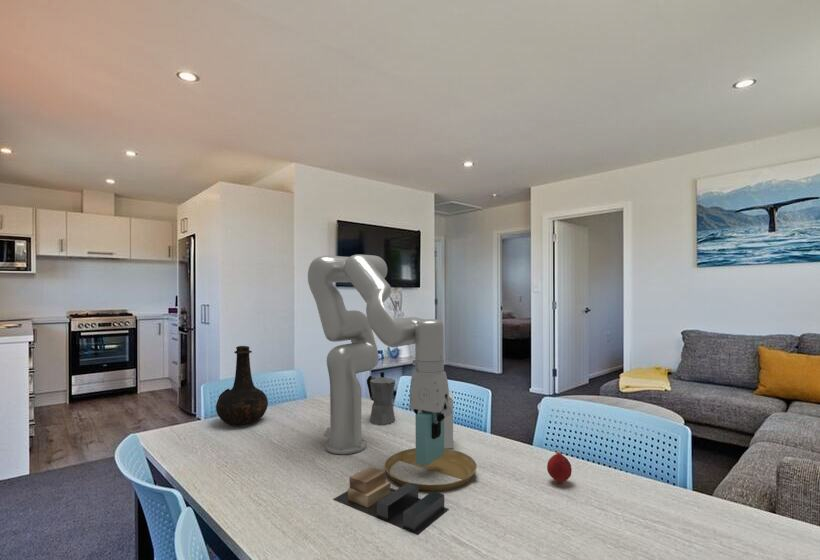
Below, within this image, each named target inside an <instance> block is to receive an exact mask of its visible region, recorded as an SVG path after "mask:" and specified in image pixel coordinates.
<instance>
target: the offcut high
mask: <svg viewBox="0 0 820 560" xmlns="http://www.w3.org/2000/svg"><path fill="white" fill-rule="evenodd" d="M386 475H387V472H386V470H382V469H380V468H376V467H373V466H368V467H366V468H364V469H362V470H361V471H359V472H356V473H354V474H352V475H351V476H349V488H352V489H354V490H357V491H359V492H362V493H365V494H367V493H368V492H370V491H372V490H373V489H375V488H377V487H378V486H380V485H382V484H384V483H385V482H386V481H387V479H386V477H387V476H386Z"/></svg>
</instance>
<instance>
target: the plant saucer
mask: <svg viewBox="0 0 820 560" xmlns="http://www.w3.org/2000/svg"><path fill="white" fill-rule="evenodd" d="M399 462H402V463H404V464H409V465H412V466H415V467H419V468H422V469H425V470H428V471H432V472H435V473H438V474H441V475H445V476H449V477H452V478H455V479H459V480H457V481H454V482H447V483H439V484H428V483H427V484H423V483H418V482H417V483H416V482H410V481H406V480H403V479H400V478H397V477H396V476H394V475H393V474H391V470H392V468H393V466H394V465H395V464H397V463H399ZM477 467H478V466H477V463H476V460H475V459H473V457H472V456H470V455H468V454H466V453H464V452H462V451H460V450H457V449H456V450H454V449H453V448H444V455H443V456H441V457H440V458H438V459H437V460H435V461H433V462H432V463H430V464H428V465H427V466H423V465H419V464H416V447H415V448H409V449H408V448H407V449H405V450H401V451H398V452H396V453H394V454H393V455H391V456H390V457H388V458H387V459H386V461H385V463H384V469H385V470H384V471H385V472H386V475H388V477H389V478H390V479H391V480H392V481H393V482H394V483H396V484H397V485H400V486H401V487H402V486H403V485H405V484H406V483H411V484H414V485H417V486H418V491H425V492H427V491H428V492H432V491H434V492H439V491H440V492H441V491H449V490H452V489H455V488H459V487H461V486H464V485H465V484H467V483H468V481H470V480H471V479H472V478H473V477H474V475H475V473H476V471H477Z"/></svg>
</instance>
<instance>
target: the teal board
mask: <svg viewBox="0 0 820 560" xmlns="http://www.w3.org/2000/svg"><path fill="white" fill-rule="evenodd" d="M442 413H444V410H443V411H442ZM432 423H434V422H433V413H432V412H427V411H423V412H421V413H418V414H415V448H416V464H419V465H423V466H427V465H428V464H430V463H432V462H433V461H435V460H437V459H438V458H440V457H441V456H443V455H444V419H443V421H441V434H440V436H439V437H438V438H436V439H432Z"/></svg>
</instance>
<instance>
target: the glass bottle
mask: <svg viewBox="0 0 820 560" xmlns="http://www.w3.org/2000/svg"><path fill="white" fill-rule="evenodd" d="M235 349H236V350H235V351H234V352H233V353H234V354H236V360H235V361H236V362H235V375H234V382H233V386H232V388H227V389H225V390H223V391H222V392H221V393H220V394H219V395H218V399H217V402H216V405H215V411H216V415H217V417H218V418H219V419H220V420H221V421H222V422H224V424H226V425H228V426H231V427H245V426H249V424H250V425H252V424H254V423H256V422H258V421H259V420H260V419H261V418H262V417H263V416H264V415H265V413H266V412H267V409H268V405H269V401H268V397H267V395H266V394H265V393H264V391H263V390H261V389H259V388H258V387H256V386H255V385H254V382H253V377H252V371H251V362H250V359H251V358H250V354H251V353H253V352H252V350H250V346H247V345H239V346H236V347H235Z"/></svg>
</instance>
